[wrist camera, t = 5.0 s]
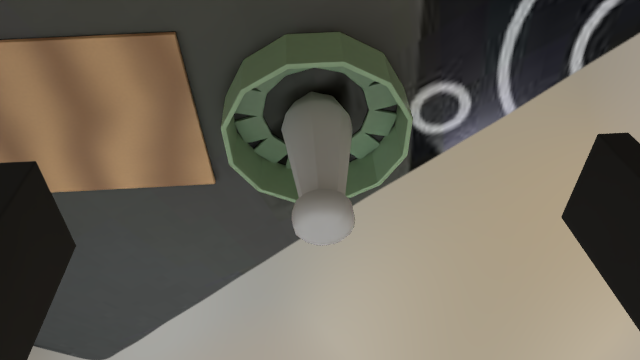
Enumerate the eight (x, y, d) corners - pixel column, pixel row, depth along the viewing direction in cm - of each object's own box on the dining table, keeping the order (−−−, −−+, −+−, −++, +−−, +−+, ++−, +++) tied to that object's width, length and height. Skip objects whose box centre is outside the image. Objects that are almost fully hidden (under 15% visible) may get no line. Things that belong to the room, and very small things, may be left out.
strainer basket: (241, 175, 46) (238, 207, 43) (212, 37, 35) (206, 68, 32) (393, 167, 46) (400, 198, 43) (411, 28, 35) (422, 57, 33)
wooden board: (8, 191, 46) (6, 194, 46) (-103, 44, 34) (-107, 47, 34) (215, 180, 46) (215, 184, 46) (175, 31, 35) (174, 34, 34)
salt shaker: (352, 131, 42) (370, 252, 34) (290, 141, 43) (291, 263, 34) (344, 77, 38) (362, 199, 29) (274, 89, 39) (272, 212, 30)
